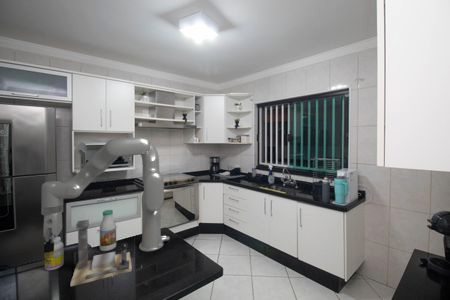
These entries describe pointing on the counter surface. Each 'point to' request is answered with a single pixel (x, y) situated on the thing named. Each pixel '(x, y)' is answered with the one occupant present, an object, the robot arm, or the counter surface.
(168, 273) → the counter surface
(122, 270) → the press
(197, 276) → the counter surface
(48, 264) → the supplement bottle
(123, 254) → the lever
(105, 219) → the milk bottle
